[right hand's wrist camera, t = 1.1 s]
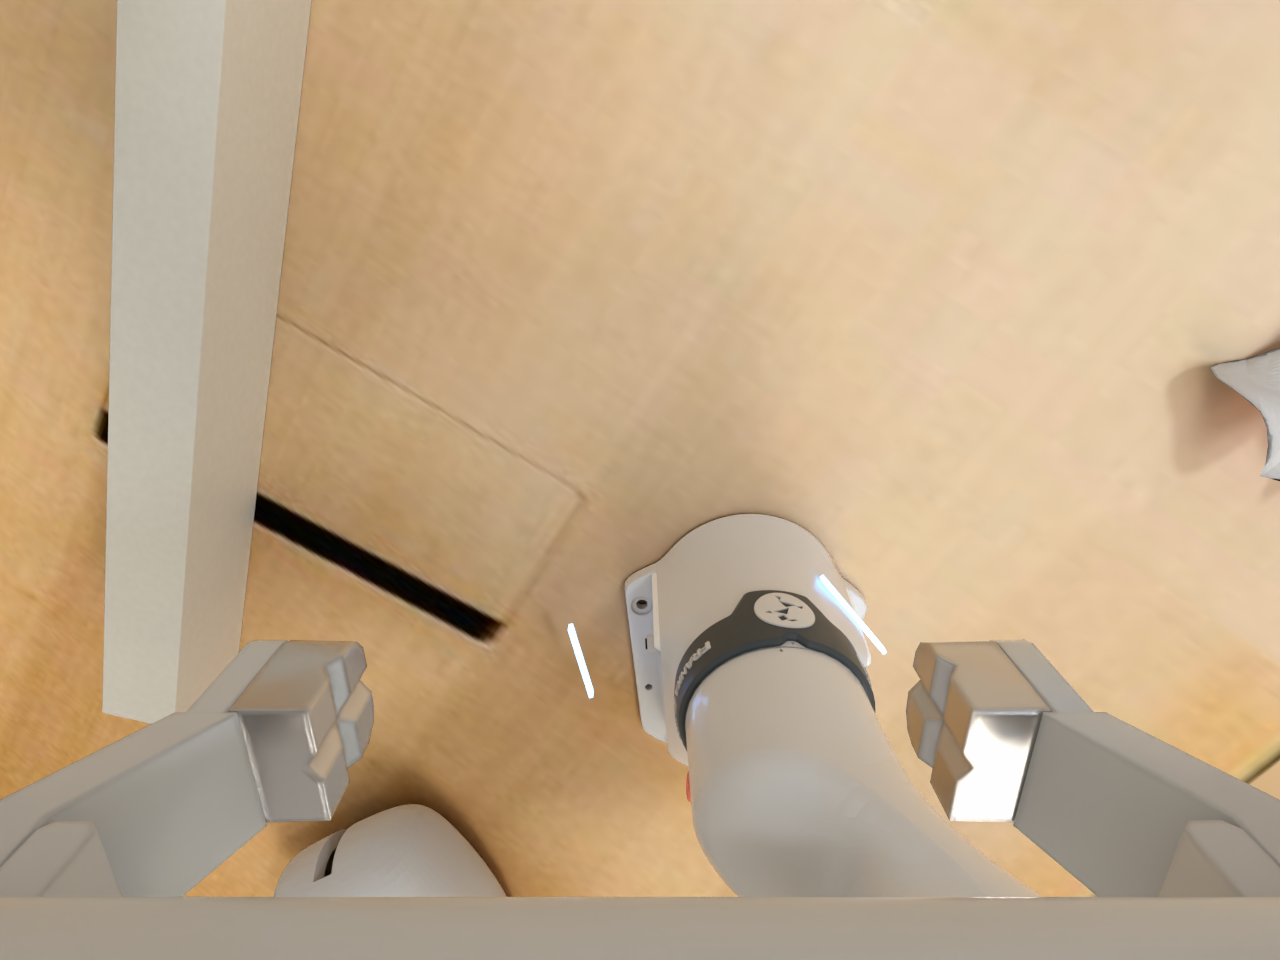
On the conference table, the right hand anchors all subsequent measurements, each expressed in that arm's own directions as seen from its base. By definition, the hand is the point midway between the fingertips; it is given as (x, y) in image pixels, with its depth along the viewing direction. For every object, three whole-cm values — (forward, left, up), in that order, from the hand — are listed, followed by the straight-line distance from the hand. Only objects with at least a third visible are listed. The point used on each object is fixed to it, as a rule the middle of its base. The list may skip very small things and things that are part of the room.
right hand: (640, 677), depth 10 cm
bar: (-2, +26, -39) cm, 47 cm away
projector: (-56, +15, -39) cm, 70 cm away
